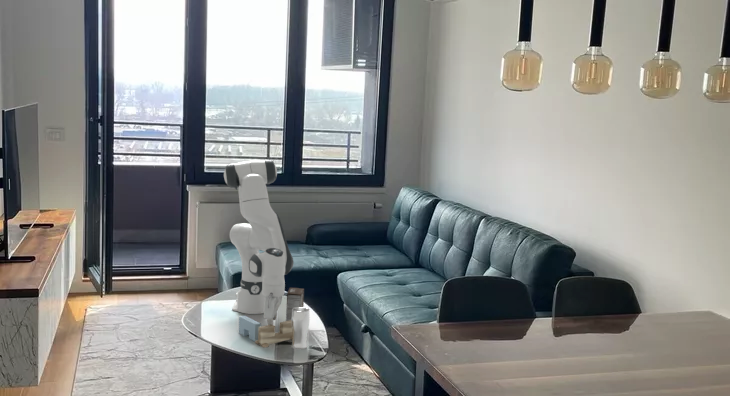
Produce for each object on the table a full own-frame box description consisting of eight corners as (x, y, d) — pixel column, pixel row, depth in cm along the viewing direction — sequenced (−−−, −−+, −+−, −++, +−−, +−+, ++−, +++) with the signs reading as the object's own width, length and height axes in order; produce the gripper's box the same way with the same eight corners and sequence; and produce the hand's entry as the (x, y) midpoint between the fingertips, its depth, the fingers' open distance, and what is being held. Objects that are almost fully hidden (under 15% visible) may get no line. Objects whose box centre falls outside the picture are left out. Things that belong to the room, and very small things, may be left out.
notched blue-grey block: (238, 333, 280) (239, 316, 279) (243, 332, 281) (244, 315, 281) (254, 341, 271) (255, 324, 270) (260, 340, 273) (260, 323, 272)
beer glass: (305, 351, 263) (307, 312, 262) (287, 348, 265) (289, 310, 263) (310, 345, 270) (312, 307, 268) (293, 343, 272) (294, 306, 270)
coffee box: (288, 324, 295) (289, 287, 292) (303, 324, 294) (304, 288, 292) (285, 330, 286) (286, 292, 283) (300, 331, 285) (302, 293, 283)
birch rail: (255, 343, 269) (255, 325, 268) (288, 335, 280) (289, 318, 279) (264, 347, 265) (264, 330, 264) (297, 339, 276) (298, 322, 275)
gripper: (276, 298, 263) (275, 332, 266) (285, 282, 284) (284, 315, 286) (260, 297, 264) (259, 331, 266) (270, 281, 284) (269, 314, 286)
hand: (272, 322), depth 276 cm, fingers open, 7 cm apart
